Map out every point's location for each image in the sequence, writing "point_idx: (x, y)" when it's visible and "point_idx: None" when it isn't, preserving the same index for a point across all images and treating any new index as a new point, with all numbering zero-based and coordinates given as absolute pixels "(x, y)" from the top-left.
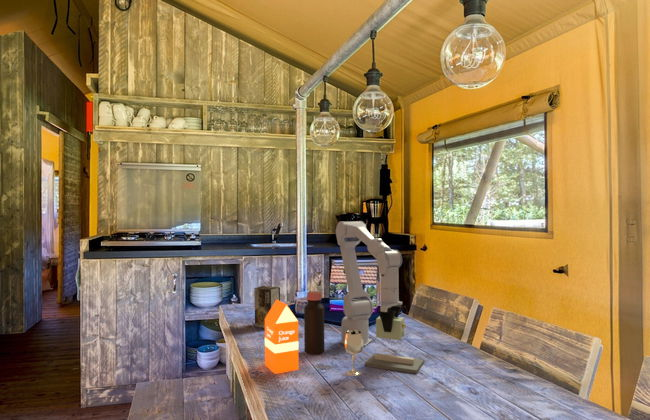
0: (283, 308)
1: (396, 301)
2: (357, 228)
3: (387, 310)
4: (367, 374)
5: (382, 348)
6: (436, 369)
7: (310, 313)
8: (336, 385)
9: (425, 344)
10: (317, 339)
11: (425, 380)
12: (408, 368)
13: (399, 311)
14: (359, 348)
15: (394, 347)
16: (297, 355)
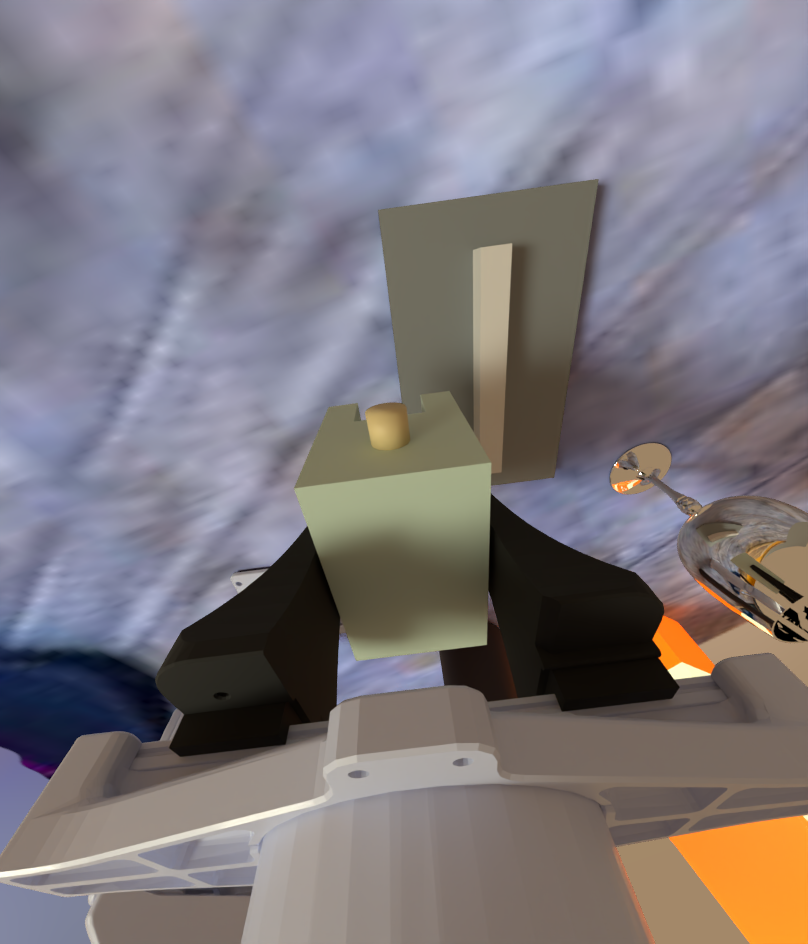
0: None
1: (526, 828)
2: None
3: (664, 674)
4: (642, 421)
5: (295, 503)
6: (459, 56)
7: None
8: (769, 464)
9: (36, 341)
10: (509, 674)
11: (692, 68)
12: (577, 249)
13: (241, 598)
14: (793, 506)
15: (240, 467)
16: (668, 643)
